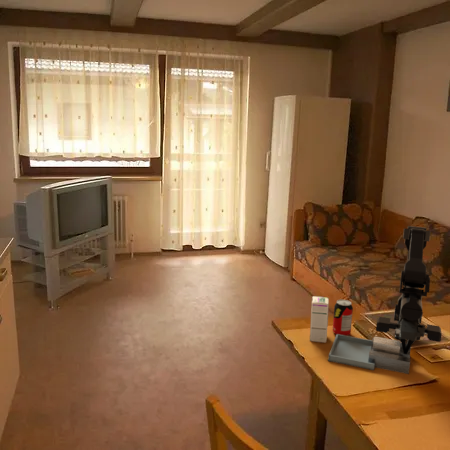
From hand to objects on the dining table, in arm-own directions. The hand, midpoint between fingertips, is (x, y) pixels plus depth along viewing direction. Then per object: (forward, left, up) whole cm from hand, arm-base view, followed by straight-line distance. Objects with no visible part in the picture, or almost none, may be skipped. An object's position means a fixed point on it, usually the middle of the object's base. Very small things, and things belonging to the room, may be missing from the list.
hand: (405, 353), depth 151 cm
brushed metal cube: (0, -8, -1) cm, 8 cm away
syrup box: (-6, -29, -4) cm, 29 cm away
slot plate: (0, -5, -4) cm, 6 cm away
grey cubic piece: (0, -4, -1) cm, 4 cm away
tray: (0, -16, -4) cm, 16 cm away
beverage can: (-13, -22, -4) cm, 25 cm away
